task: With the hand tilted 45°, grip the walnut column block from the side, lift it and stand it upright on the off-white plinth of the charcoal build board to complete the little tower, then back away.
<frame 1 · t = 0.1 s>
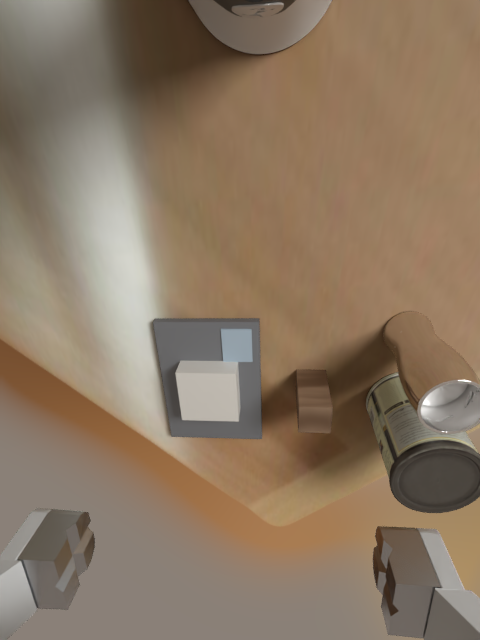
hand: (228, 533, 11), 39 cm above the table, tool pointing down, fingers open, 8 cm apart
coffee can: (402, 399, 56), on the table
build base: (212, 380, 57), on the table
walnut column: (310, 381, 55), on the table
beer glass: (406, 331, 51), on the table
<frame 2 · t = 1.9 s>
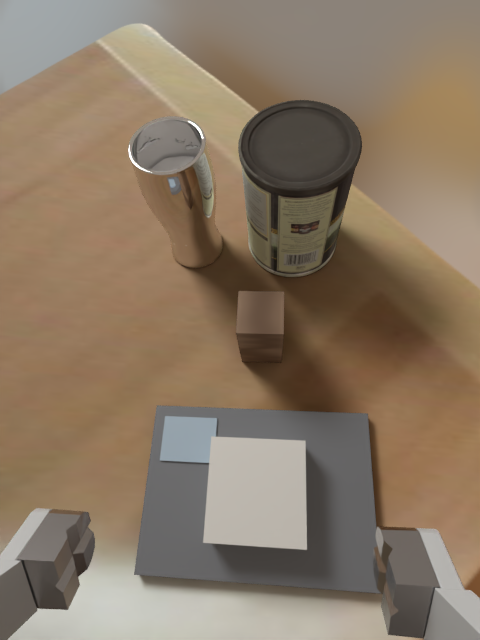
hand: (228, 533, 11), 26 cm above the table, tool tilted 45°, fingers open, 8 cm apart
coffee can: (291, 240, 46), on the table
build base: (257, 489, 35), on the table
walnut column: (262, 343, 41), on the table
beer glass: (197, 247, 47), on the table
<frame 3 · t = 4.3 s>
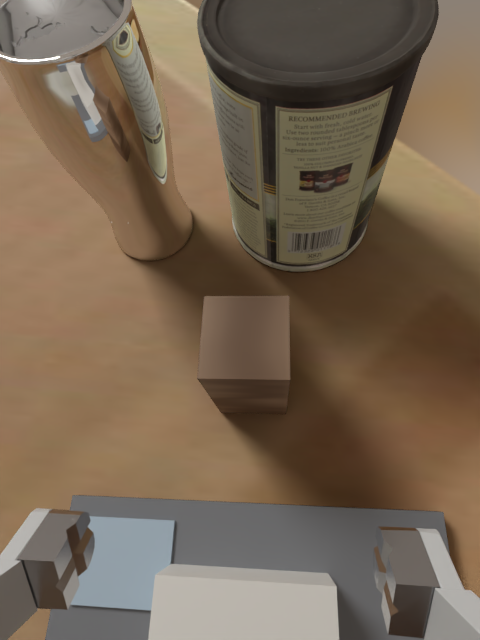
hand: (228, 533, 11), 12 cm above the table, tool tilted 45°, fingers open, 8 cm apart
coffee can: (297, 216, 30), on the table
walnut column: (254, 381, 25), on the table
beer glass: (155, 229, 31), on the table
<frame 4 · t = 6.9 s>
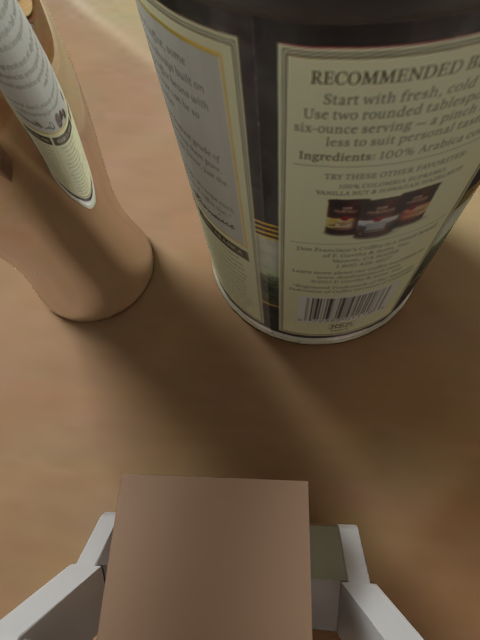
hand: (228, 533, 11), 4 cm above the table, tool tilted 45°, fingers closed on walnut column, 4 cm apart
coffee can: (310, 252, 20), on the table
walnut column: (241, 541, 15), on the table, touching gripper
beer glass: (98, 271, 21), on the table
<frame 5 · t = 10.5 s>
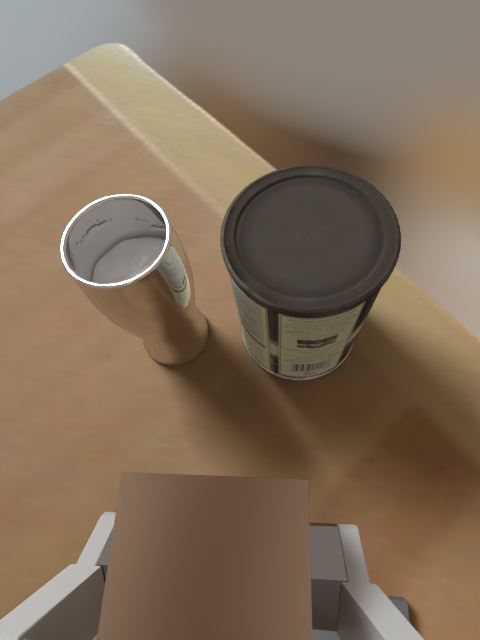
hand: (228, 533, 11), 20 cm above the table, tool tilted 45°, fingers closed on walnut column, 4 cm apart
coffee can: (296, 326, 36), on the table
walnut column: (241, 540, 15), point 16 cm above the table, touching gripper
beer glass: (176, 335, 36), on the table
when the fingers open (9 cm above the table, at t = 14.3 s): walnut column stays where it is, resting on build base.
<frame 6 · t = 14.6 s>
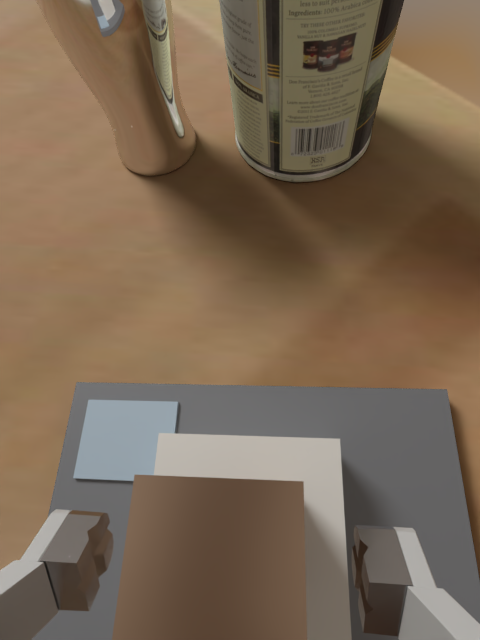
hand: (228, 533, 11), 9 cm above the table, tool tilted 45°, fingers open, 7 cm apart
coffee can: (300, 133, 30), on the table
build base: (250, 530, 19), on the table
walnut column: (242, 538, 16), point 4 cm above the table, touching build base
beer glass: (158, 148, 31), on the table
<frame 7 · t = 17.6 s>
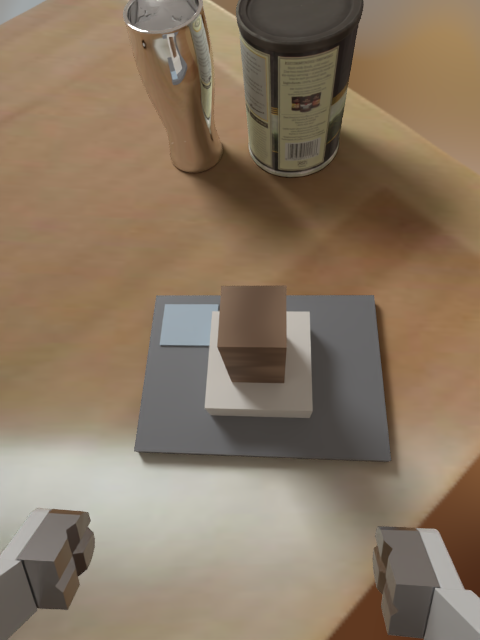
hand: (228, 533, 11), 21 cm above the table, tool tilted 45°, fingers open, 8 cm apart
coffee can: (292, 144, 45), on the table
build base: (261, 372, 34), on the table
walnut column: (258, 357, 31), point 4 cm above the table, touching build base
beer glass: (197, 154, 46), on the table
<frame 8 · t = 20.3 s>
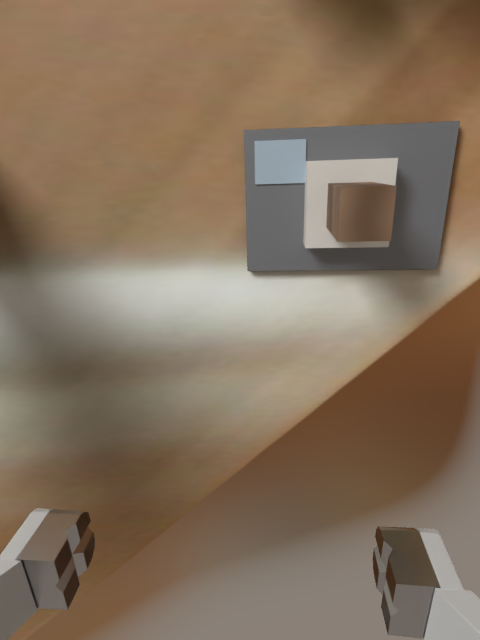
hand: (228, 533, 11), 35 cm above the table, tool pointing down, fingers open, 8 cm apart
build base: (342, 201, 41), on the table
walnut column: (348, 205, 37), point 4 cm above the table, touching build base
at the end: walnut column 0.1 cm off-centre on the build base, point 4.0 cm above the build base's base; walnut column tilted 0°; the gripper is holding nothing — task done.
